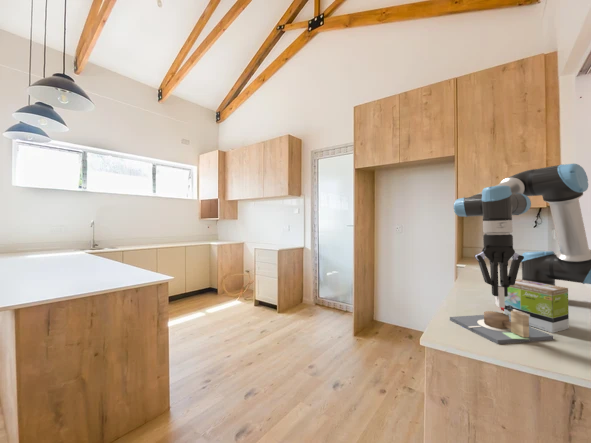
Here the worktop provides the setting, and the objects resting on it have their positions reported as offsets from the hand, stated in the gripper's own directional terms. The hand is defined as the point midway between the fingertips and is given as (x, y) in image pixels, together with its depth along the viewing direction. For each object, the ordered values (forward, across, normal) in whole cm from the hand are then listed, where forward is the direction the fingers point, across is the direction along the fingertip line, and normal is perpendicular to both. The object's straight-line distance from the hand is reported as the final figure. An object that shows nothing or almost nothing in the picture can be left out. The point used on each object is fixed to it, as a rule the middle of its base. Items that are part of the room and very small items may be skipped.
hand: (500, 306), depth 82 cm
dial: (+9, +3, +4) cm, 10 cm away
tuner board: (+10, +2, +8) cm, 13 cm away
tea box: (+11, +17, +17) cm, 27 cm away
